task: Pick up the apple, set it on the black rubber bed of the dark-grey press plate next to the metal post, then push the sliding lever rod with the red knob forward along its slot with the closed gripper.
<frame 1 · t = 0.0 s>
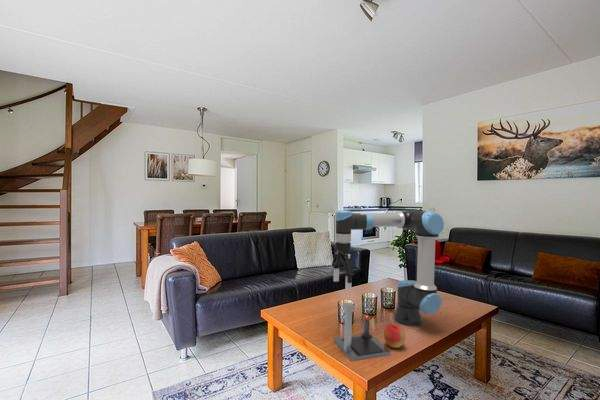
hand: (341, 285, 145), 28 cm above the table, fingers open, 13 cm apart
lever: (366, 325, 148), point 7 cm above the table, slide at 0.0 cm
press: (361, 347, 140), on the table
apple: (394, 346, 142), on the table
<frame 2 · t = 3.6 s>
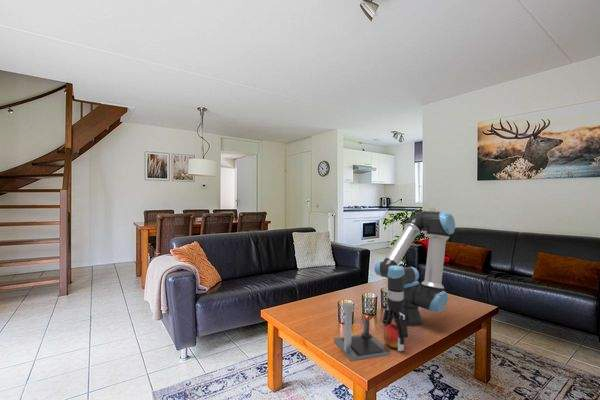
hand: (394, 345, 142), 1 cm above the table, fingers closed on apple, 9 cm apart
apple: (393, 346, 142), on the table, touching gripper
everything else where it was.
when the fingers open (5 cm above the table, at t = 8.4 s): apple drops 1 cm, resting on press.
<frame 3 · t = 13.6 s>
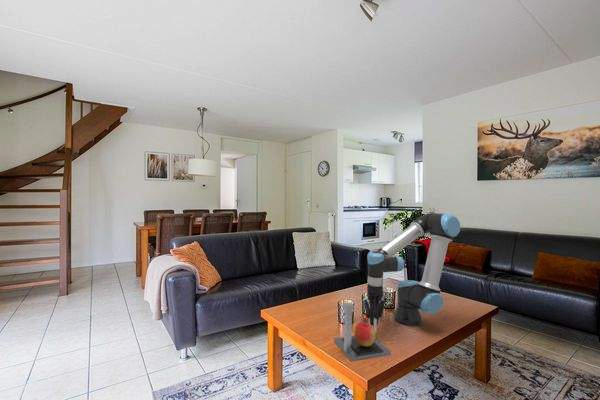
hand: (373, 331, 149), 4 cm above the table, fingers closed
lever: (364, 325, 148), point 7 cm above the table, slide at 0.9 cm, touching gripper
apple: (364, 345, 138), point 2 cm above the table, touching press
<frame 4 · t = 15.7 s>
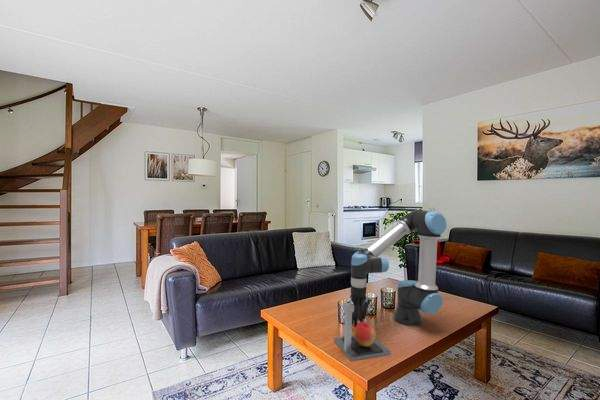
hand: (357, 333, 146), 4 cm above the table, fingers closed
lever: (348, 327, 145), point 7 cm above the table, slide at 10.1 cm, touching gripper, hand
everything else where it was.
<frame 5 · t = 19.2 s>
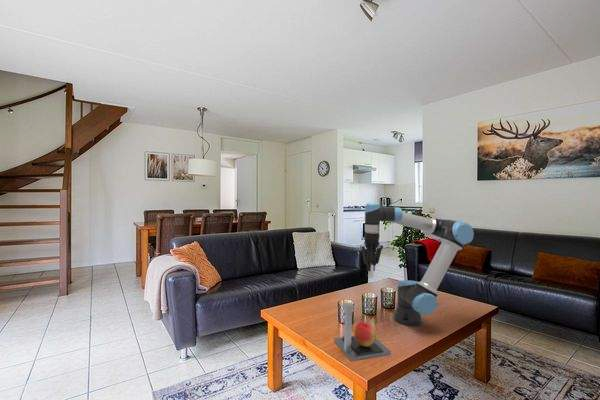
hand: (370, 277, 156), 29 cm above the table, fingers closed
lever: (348, 327, 145), point 7 cm above the table, slide at 10.0 cm
everything else where it was.
at the end: apple inside the target area (0.1 cm from its centre), point 2.3 cm above the table; lever slide at 10.0 cm; the gripper is holding nothing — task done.
